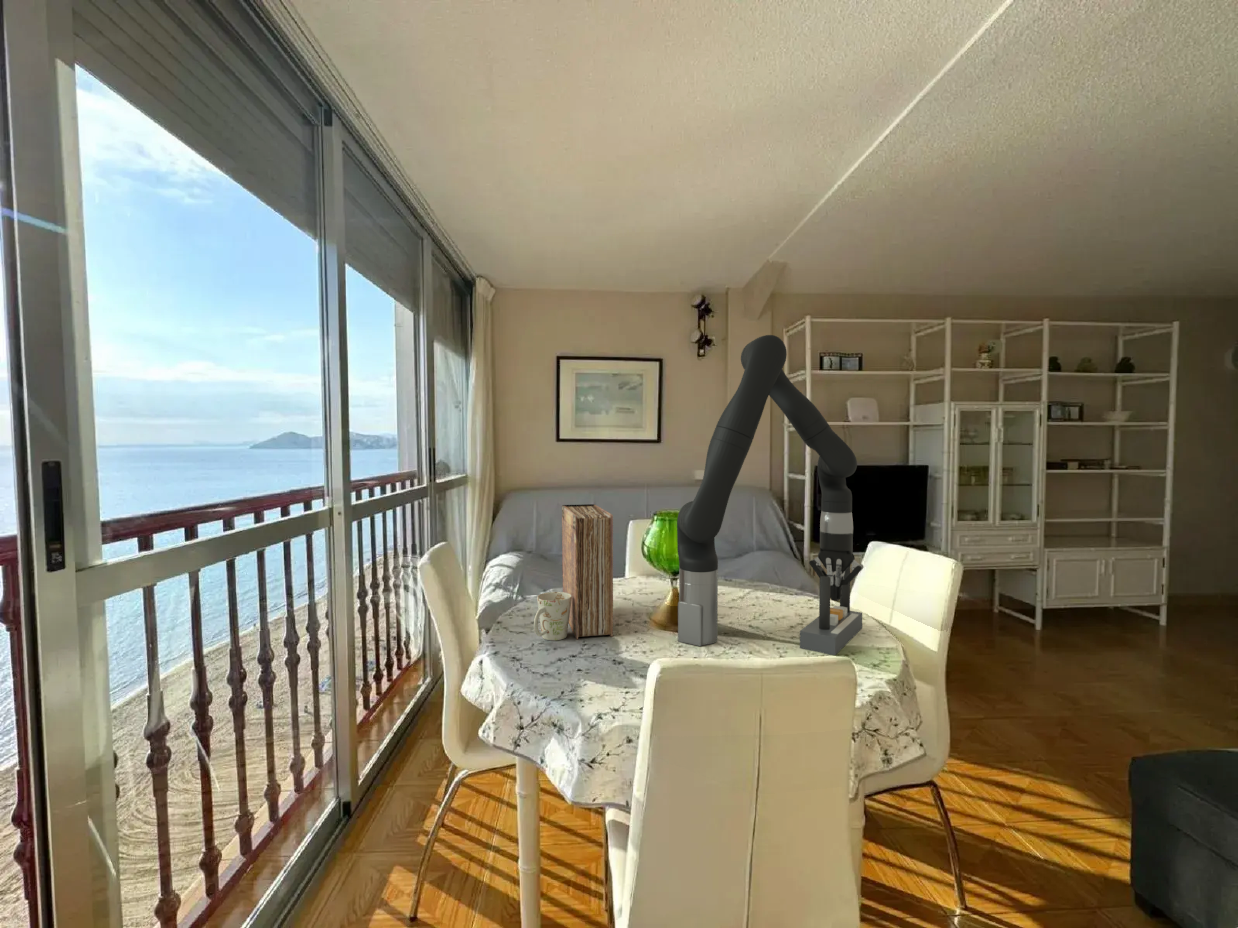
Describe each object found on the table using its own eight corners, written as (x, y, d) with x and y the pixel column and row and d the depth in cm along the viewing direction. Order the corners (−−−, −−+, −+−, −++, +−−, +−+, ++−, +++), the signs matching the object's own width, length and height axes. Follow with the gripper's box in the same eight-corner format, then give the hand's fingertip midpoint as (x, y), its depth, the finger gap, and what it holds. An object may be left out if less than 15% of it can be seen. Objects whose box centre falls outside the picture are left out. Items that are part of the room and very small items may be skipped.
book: (613, 637, 145) (613, 515, 144) (575, 640, 143) (575, 516, 142) (594, 608, 170) (594, 503, 168) (562, 610, 168) (561, 504, 166)
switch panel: (835, 655, 133) (835, 628, 132) (799, 648, 137) (799, 622, 137) (862, 628, 152) (862, 604, 151) (830, 622, 156) (830, 599, 156)
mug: (577, 633, 148) (577, 594, 147) (551, 650, 136) (550, 607, 136) (549, 629, 151) (548, 590, 151) (520, 644, 140) (520, 602, 139)
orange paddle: (839, 620, 144) (840, 612, 144) (827, 618, 146) (827, 610, 146) (842, 618, 146) (842, 610, 146) (830, 615, 148) (830, 607, 148)
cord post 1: (828, 630, 137) (828, 579, 137) (817, 628, 139) (818, 577, 138) (831, 627, 139) (831, 577, 139) (820, 626, 141) (821, 575, 140)
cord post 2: (848, 613, 151) (849, 566, 151) (838, 611, 153) (839, 565, 152) (850, 610, 153) (851, 564, 153) (841, 609, 154) (841, 563, 154)
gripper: (804, 529, 146) (803, 599, 147) (860, 534, 138) (859, 608, 139) (814, 525, 152) (813, 593, 153) (868, 530, 144) (867, 601, 145)
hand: (835, 600), depth 146 cm, fingers closed
